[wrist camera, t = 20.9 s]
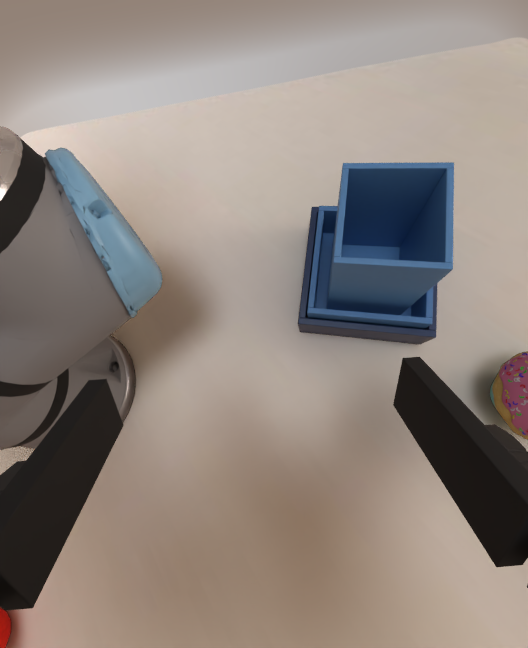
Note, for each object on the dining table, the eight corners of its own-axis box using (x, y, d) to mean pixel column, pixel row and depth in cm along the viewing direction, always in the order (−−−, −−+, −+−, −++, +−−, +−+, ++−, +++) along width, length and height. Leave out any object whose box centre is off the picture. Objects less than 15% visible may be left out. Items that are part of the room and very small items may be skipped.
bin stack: (420, 344, 33) (442, 334, 27) (300, 331, 35) (297, 320, 29) (423, 231, 35) (445, 200, 30) (312, 227, 38) (311, 198, 32)
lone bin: (399, 316, 32) (453, 269, 20) (326, 309, 34) (333, 262, 21) (402, 245, 34) (454, 162, 21) (333, 242, 36) (343, 162, 23)
